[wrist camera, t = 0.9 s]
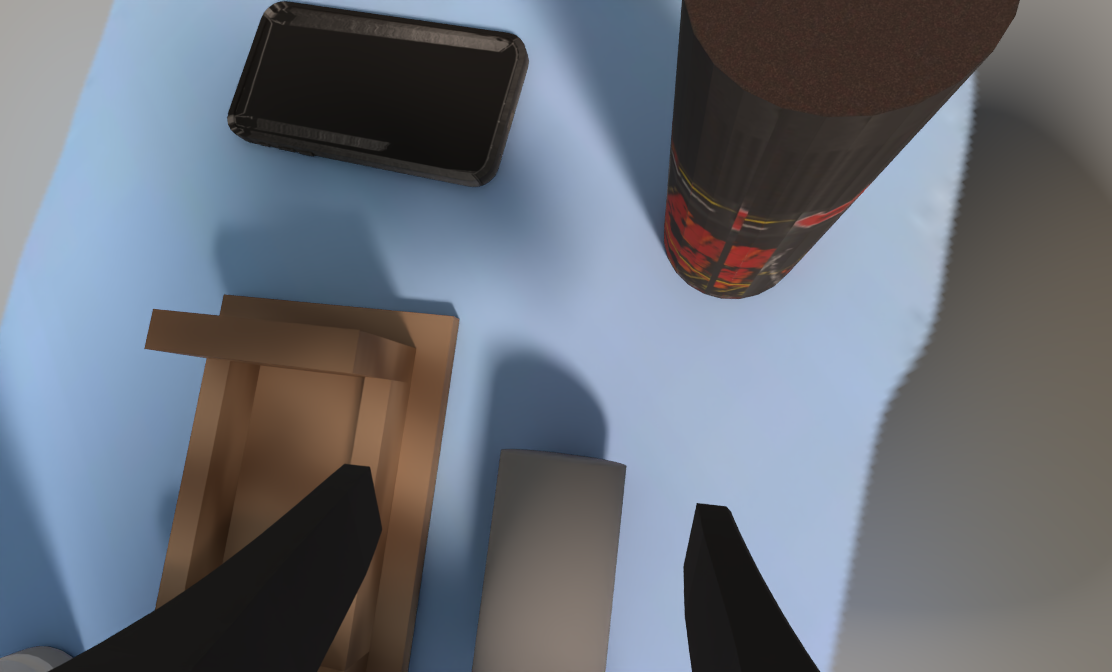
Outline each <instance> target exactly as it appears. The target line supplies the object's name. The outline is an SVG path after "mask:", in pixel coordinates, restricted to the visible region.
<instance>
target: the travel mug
mask: <svg viewBox="0 0 1112 672" xmlns="http://www.w3.org/2000/svg"><path fill="white" fill-rule="evenodd" d="M70 659H72V657H71V656H70V655H68V654H67V653H65V652H63V651H62V650H59V649H55V648H52V647H46V646H36V647H32V648H27V649H24V650H21V651H19V652H16V653H13V654H10V655H8V656H5V657H2V658H0V672H48V671H50V670H52V669H53V668H55V667H57V666H59V665H61V664H63V663H65V662H67V661H69V660H70Z"/></svg>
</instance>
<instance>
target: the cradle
mask: <svg viewBox="0 0 1112 672" xmlns="http://www.w3.org/2000/svg"><path fill="white" fill-rule="evenodd" d="M458 326H459V319H458V318H456V317H454V316H445V315H434V314H424V313H413V312H403V311H392V310H382V309H371V308H361V307H350V306H340V305H329V304H319V303H308V302H298V301H287V300H277V299H266V298H255V297H245V296H234V295H224V296H223V301H222V306H221V311H220V315H219V316H217V315H208V314H198V313H188V312H179V311H169V310H159V309H153V312H152V317H151V321H150V326H149V330H148V335H147V339H146V344H145V348H144V349H149V350H156V351H163V352H169V353H176V354H183V355H189V356H196V357H203V358H207V359H206V364H205V369H204V374H203V379H202V384H201V389H200V393H199V398H198V403H197V408H196V413H195V418H194V423H193V427H192V432H191V437H190V442H189V447H188V452H187V457H186V461H185V466H184V471H183V476H182V481H181V486H180V491H179V495H178V500H177V505H176V510H175V515H174V520H173V525H172V529H171V534H170V539H169V544H168V549H167V554H166V559H165V563H164V568H163V573H162V578H161V583H160V588H159V593H158V597H157V602H156V607H155V610H156V609H158V608H159V607H161V606H162V605H164V604H165V603H167V602H168V601H170V600H171V599H173V598H174V597H176V596H177V595H179V594H180V593H182V592H183V591H185V590H187V589H188V588H190V587H191V586H192V585H194V584H195V583H197V582H198V581H200V580H201V579H202V578H204V577H205V576H207V575H208V574H209V573H211V572H212V571H214V570H215V569H216V568H218V567H219V566H220V565H222V564H223V563H224V562H225V561H227V560H228V559H229V558H231V557H232V556H233V555H235V554H236V553H237V552H239V551H240V550H241V549H242V548H244V547H245V546H246V545H248V544H249V543H250V542H252V541H253V540H254V539H255V538H257V537H258V536H259V535H260V534H262V533H263V532H264V531H265V530H266V529H268V528H269V527H270V526H271V525H272V524H274V523H275V522H276V521H277V520H278V519H280V518H281V517H282V516H283V515H284V514H286V513H287V512H288V511H289V510H290V509H292V508H293V507H294V506H295V505H296V504H298V503H299V502H300V501H301V500H302V499H303V498H305V497H306V496H307V495H308V494H309V493H310V492H311V491H313V490H314V489H315V488H316V487H317V486H318V485H320V484H321V483H322V482H323V481H324V480H325V479H327V478H328V477H329V476H330V475H331V474H332V473H334V472H335V471H336V470H337V469H339V468H340V467H341V466H342V465H343V464H351V465H360V466H369V467H370V469H371V474H372V479H373V484H374V489H375V494H376V499H377V504H378V509H379V514H380V519H381V524H382V529H383V530H382V533H381V535H380V538H379V541H378V544H377V547H376V550H375V553H374V555H373V558H372V561H371V563H370V566H369V569H368V571H367V574H366V576H365V578H364V580H363V582H362V584H361V586H360V588H359V590H358V592H357V594H356V596H355V598H354V600H353V602H352V604H351V606H350V608H349V610H348V612H347V614H346V616H345V618H344V620H343V622H342V624H341V626H340V628H339V630H338V632H337V634H336V636H335V638H334V640H333V642H332V644H331V646H330V648H329V650H328V652H327V654H326V656H325V658H324V659H323V661H322V663H321V665H320V667H319V669H318V671H317V672H408V667H409V660H410V654H411V647H412V640H413V633H414V626H415V619H416V613H417V606H418V599H419V592H420V585H421V579H422V572H423V565H424V558H425V551H426V544H427V538H428V531H429V524H430V517H431V510H432V504H433V497H434V490H435V483H436V476H437V469H438V463H439V456H440V449H441V442H442V435H443V428H444V422H445V415H446V408H447V401H448V394H449V388H450V381H451V374H452V367H453V360H454V353H455V347H456V340H457V333H458Z"/></svg>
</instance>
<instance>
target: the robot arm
mask: <svg viewBox="0 0 1112 672" xmlns="http://www.w3.org/2000/svg"><path fill="white" fill-rule="evenodd" d="M382 530H383V529H382V524H381V519H380V514H379V509H378V504H377V499H376V494H375V489H374V484H373V479H372V474H371V469H370V467H369V466H360V465H351V464H343V465H342V466H341V467H340V468H339V469H337V470H336V471H335V472H334V473H332V474H331V475H330V476H329V477H328V478H327V479H325V480H324V481H323V482H322V483H321V484H320V485H318V486H317V487H316V488H315V489H314V490H313V491H311V492H310V493H309V494H308V495H307V496H306V497H305V498H303V499H302V500H301V501H300V502H299V503H298V504H296V505H295V506H294V507H293V508H292V509H290V510H289V511H288V512H287V513H286V514H284V515H283V516H282V517H281V518H280V519H278V520H277V521H276V522H275V523H274V524H272V525H271V526H270V527H269V528H268V529H266V530H265V531H264V532H263V533H262V534H260V535H259V536H258V537H257V538H255V539H254V540H253V541H252V542H250V543H249V544H248V545H246V546H245V547H244V548H242V549H241V550H240V551H239V552H237V553H236V554H235V555H233V556H232V557H231V558H229V559H228V560H227V561H225V562H224V563H223V564H222V565H220V566H219V567H218V568H216V569H215V570H214V571H212V572H211V573H209V574H208V575H207V576H205V577H204V578H202V579H201V580H200V581H198V582H197V583H195V584H194V585H192V586H191V587H190V588H188V589H187V590H185V591H183V592H182V593H180V594H179V595H177V596H176V597H174V598H173V599H171V600H170V601H168V602H167V603H165V604H164V605H162V606H161V607H159V608H158V609H156V610H155V611H153V612H151V613H150V614H148V615H146V616H145V617H143V618H141V619H140V620H138V621H136V622H135V623H133V624H131V625H130V626H128V627H126V628H125V629H123V630H121V631H120V632H118V633H116V634H115V635H113V636H111V637H110V638H108V639H106V640H105V641H103V642H101V643H99V644H98V645H96V646H94V647H92V648H91V649H89V650H87V651H85V652H83V653H81V654H80V655H78V656H76V657H74V658H72V659H70V660H69V661H67V662H65V663H63V664H61V665H59V666H57V667H55V668H53V669H52V670H50V671H48V672H317V671H318V669H319V667H320V665H321V663H322V661H323V659H324V658H325V656H326V654H327V652H328V650H329V648H330V646H331V644H332V642H333V640H334V638H335V636H336V634H337V632H338V630H339V628H340V626H341V624H342V622H343V620H344V618H345V616H346V614H347V612H348V610H349V608H350V606H351V604H352V602H353V600H354V598H355V596H356V594H357V592H358V590H359V588H360V586H361V584H362V582H363V580H364V578H365V576H366V574H367V571H368V569H369V566H370V563H371V561H372V558H373V555H374V553H375V550H376V547H377V544H378V541H379V538H380V535H381V533H382ZM684 606H685V621H686V629H687V637H688V645H689V653H690V660H691V668H692V672H820V671H819V669H818V668H817V666H816V665H815V663H814V662H813V660H812V659H811V657H810V656H809V654H808V653H807V651H806V650H805V648H804V647H803V645H802V643H801V642H800V640H799V639H798V637H797V636H796V634H795V632H794V631H793V629H792V628H791V626H790V624H789V623H788V621H787V619H786V618H785V616H784V614H783V613H782V611H781V609H780V608H779V606H778V604H777V602H776V600H775V599H774V597H773V595H772V593H771V592H770V590H769V588H768V586H767V585H766V583H765V581H764V579H763V577H762V575H761V574H760V572H759V570H758V568H757V566H756V564H755V562H754V560H753V558H752V556H751V554H750V552H749V550H748V548H747V546H746V544H745V542H744V540H743V538H742V536H741V534H740V532H739V529H738V527H737V525H736V523H735V520H734V518H733V516H732V513H731V511H730V510H729V509H728V508H727V507H726V506H718V505H709V504H700V503H697V505H696V509H695V514H694V519H693V524H692V528H691V533H690V538H689V543H688V548H687V552H686V557H685V562H684Z"/></svg>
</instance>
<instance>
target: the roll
mask: <svg viewBox="0 0 1112 672" xmlns="http://www.w3.org/2000/svg"><path fill="white" fill-rule="evenodd" d="M625 475H626V465H624V464H621V463H617V462H613V461H608V460H603V459H598V458H592V457H585V456H578V455H570V454H563V453H556V452H546V451H536V450H522V449H503V450H501V454H500V462H499V469H498V477H497V485H496V492H495V500H494V507H493V515H492V522H491V530H490V537H489V545H488V553H487V560H486V568H485V575H484V583H483V590H482V598H481V605H480V613H479V620H478V628H477V636H476V643H475V651H474V658H473V666H472V672H605V670H606V660H607V650H608V640H609V631H610V621H611V611H612V601H613V592H614V582H615V572H616V562H617V553H618V543H619V533H620V523H621V514H622V504H623V494H624V484H625Z"/></svg>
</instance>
